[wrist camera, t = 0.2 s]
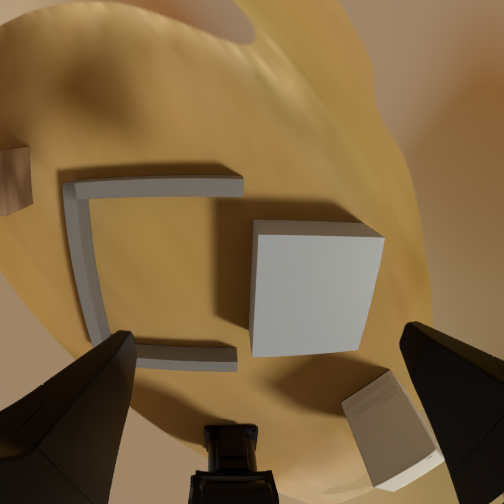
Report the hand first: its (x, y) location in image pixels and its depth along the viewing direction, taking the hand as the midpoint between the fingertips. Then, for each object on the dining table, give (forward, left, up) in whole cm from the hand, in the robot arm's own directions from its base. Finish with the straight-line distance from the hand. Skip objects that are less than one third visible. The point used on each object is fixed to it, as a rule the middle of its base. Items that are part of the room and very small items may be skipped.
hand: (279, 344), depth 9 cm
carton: (-5, -5, -15) cm, 16 cm away
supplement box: (-22, -17, -15) cm, 31 cm away
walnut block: (+4, +21, -14) cm, 26 cm away
